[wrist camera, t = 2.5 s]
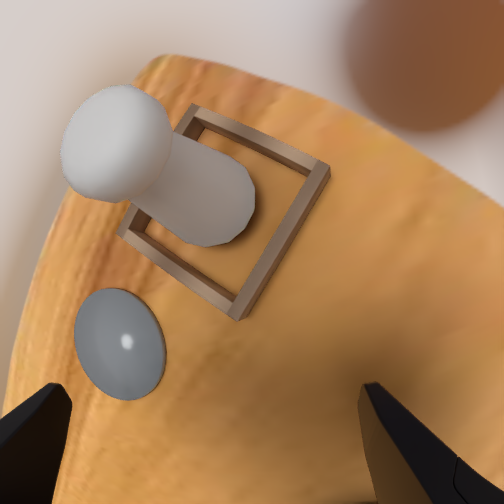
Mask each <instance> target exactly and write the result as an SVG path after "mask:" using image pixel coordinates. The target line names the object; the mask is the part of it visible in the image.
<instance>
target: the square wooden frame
mask: <svg viewBox="0 0 504 504" xmlns="http://www.w3.org/2000/svg"><path fill="white" fill-rule="evenodd" d="M204 128H208V129H210V130H212V131H214V132H217V133H219V134H221V135H223V136H225V137H228V138H230V139H232V140H234V141H236V142H238V143H241V144H243V145H245V146H247V147H249V148H251V149H253V150H255V151H257V152H259V153H261V154H263V155H266V156H268V157H270V158H272V159H274V160H276V161H278V162H280V163H282V164H284V165H285V166H287V167H289V168H291V169H293V170H295V171H297V172H299V173H301V174H303V175H305V176H307V177H308V178H307V179H306V181H305V183H304V184H303V186H302V188H301V189H300V191H299V193H298V195H297V196H296V198H295V200H294V201H293V203H292V205H291V206H290V208H289V210H288V211H287V213H286V215H285V216H284V218H283V220H282V222H281V223H280V225H279V227H278V228H277V230H276V232H275V233H274V235H273V237H272V238H271V240H270V242H269V243H268V245H267V247H266V248H265V250H264V252H263V254H262V255H261V257H260V259H259V260H258V262H257V264H256V265H255V267H254V269H253V270H252V272H251V274H250V275H249V277H248V279H247V280H246V282H245V284H244V285H243V287H242V289H241V290H240V292H239V294H238V295H237V297H236V296H235V295H233V294H232V293H230V292H229V291H227V290H226V289H224V288H223V287H221V286H220V285H218V284H217V283H215V282H214V281H212V280H211V279H209V278H208V277H206V276H205V275H203V274H202V273H201V272H199V271H198V270H196V269H195V268H193V267H192V266H190V265H189V264H187V263H186V262H185V261H183V260H182V259H180V258H179V257H177V256H176V255H175V254H173V253H172V252H170V251H169V250H167V249H166V248H165V247H163V246H162V245H160V244H159V243H158V242H156V241H155V240H153V239H152V238H151V237H149V236H148V235H146V234H145V233H144V230H145V228H146V226H147V224H148V223H149V221H150V219H151V217H150V216H149V215H148V214H146V213H145V212H144V211H142V210H141V209H140V208H138V207H137V206H136V205H134V204H133V203H131V204H130V206H129V208H128V210H127V212H126V214H125V216H124V218H123V220H122V222H121V224H120V226H119V228H118V230H117V232H116V234H117V235H118V236H120V237H121V238H122V239H124V240H125V241H126V242H127V243H129V244H130V245H131V246H133V247H134V248H135V249H137V250H138V251H139V252H140V253H142V254H143V255H144V256H146V257H147V258H148V259H150V260H151V261H152V262H154V263H155V264H156V265H158V266H159V267H160V268H162V269H163V270H164V271H166V272H167V273H169V274H170V275H171V276H173V277H174V278H175V279H177V280H178V281H180V282H181V283H182V284H184V285H185V286H186V287H188V288H189V289H191V290H192V291H193V292H195V293H196V294H198V295H199V296H201V297H202V298H203V299H205V300H206V301H208V302H209V303H210V304H212V305H213V306H215V307H216V308H218V309H219V310H221V311H222V312H224V313H225V314H226V315H228V316H229V317H231V318H232V319H234V320H235V321H237V322H238V321H240V320H242V319H244V318H246V317H247V315H248V314H249V312H250V310H251V309H252V307H253V306H254V304H255V302H256V301H257V299H258V297H259V296H260V294H261V293H262V291H263V289H264V288H265V286H266V284H267V283H268V281H269V279H270V278H271V276H272V274H273V273H274V271H275V269H276V268H277V266H278V265H279V263H280V261H281V260H282V258H283V256H284V255H285V253H286V251H287V249H288V248H289V246H290V244H291V243H292V241H293V239H294V238H295V236H296V234H297V233H298V231H299V229H300V228H301V226H302V224H303V222H304V221H305V219H306V217H307V216H308V214H309V212H310V211H311V209H312V207H313V205H314V204H315V202H316V200H317V198H318V197H319V195H320V193H321V192H322V190H323V188H324V186H325V185H326V183H327V181H328V179H329V178H330V176H331V175H330V165H328V164H326V163H324V162H322V161H320V160H318V159H316V158H314V157H312V156H310V155H308V154H306V153H304V152H302V151H300V150H298V149H296V148H294V147H292V146H290V145H288V144H286V143H284V142H282V141H279V140H277V139H275V138H273V137H271V136H269V135H267V134H264V133H262V132H260V131H258V130H255V129H253V128H251V127H249V126H246V125H244V124H242V123H240V122H237V121H235V120H232V119H230V118H228V117H225V116H223V115H220V114H218V113H216V112H213V111H211V110H208V109H206V108H203V107H200V106H198V105H195V104H193V103H192V104H191V105H190V107H189V108H188V110H187V111H186V113H185V114H184V116H183V117H182V119H181V120H180V122H179V123H178V125H177V126H176V128H175V129H174V132H176V133H178V134H180V135H183V136H185V137H187V138H190V139H192V140H194V141H197V139H198V137H199V136H200V134H201V133H202V131H203V130H204Z"/></svg>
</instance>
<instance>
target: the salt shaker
mask: <svg viewBox="0 0 504 504" xmlns="http://www.w3.org/2000/svg"><path fill="white" fill-rule="evenodd" d="M60 155H61V162H62V169H63V175H64V178H65V179H66V180H67V182H68V183H69V184H70V186H71V187H72V188H73V190H74V191H76V192H77V193H79V194H80V195H82V196H84V197H85V198H90V199H95V200H100V201H105V202H111V203H118V202H122V201H125V200H127V199H128V200H129V201H130V202H132V203H133V204H134V205H136V206H137V207H138V208H140V209H141V210H142V211H144V212H145V213H146V214H148V215H149V216H150V217H152V218H153V219H155V220H156V221H157V222H159V223H160V224H161V225H163V226H164V227H165V228H167V229H168V230H169V231H171V232H172V233H174V234H175V235H176V236H178V237H179V238H180V239H182V240H183V241H185V242H186V243H189V244H194V245H198V246H202V247H209V246H214V245H219V244H223V243H228V242H230V241H231V240H232V239H233V238H234V237H236V236H237V235H238V234H239V233H240V232H241V231H243V230H244V229H245V228H246V226H247V224H248V222H249V220H250V218H251V216H252V214H253V212H254V210H255V187H254V185H253V182H252V180H251V178H250V176H249V174H248V172H247V170H246V168H245V167H244V166H243V165H241V164H240V163H238V162H237V161H236V160H234V159H233V158H231V157H230V156H228V155H226V154H223V153H221V152H219V151H217V150H215V149H212V148H210V147H208V146H206V145H203V144H201V143H199V142H197V141H194V140H192V139H190V138H187V137H185V136H183V135H180V134H178V133H176V132H174V131H173V130H172V127H171V124H170V122H169V119H168V116H167V113H166V111H165V108H164V107H163V106H162V105H161V104H160V102H159V101H158V100H157V99H155V98H153V97H152V96H150V95H148V94H147V93H145V92H143V91H142V90H140V89H138V88H136V87H134V86H132V85H115V86H110V87H107V88H105V89H103V90H101V91H99V92H98V93H96V94H95V95H93V96H91V97H89V98H88V99H87V100H86V101H85V102H84V103H83V104H82V105H81V106H80V107H79V108H78V109H77V110H76V112H75V113H74V114H73V117H72V118H71V120H70V122H69V124H68V126H67V128H66V130H65V132H64V136H63V140H62V145H61V150H60Z"/></svg>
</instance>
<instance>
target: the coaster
mask: <svg viewBox="0 0 504 504" xmlns="http://www.w3.org/2000/svg"><path fill="white" fill-rule="evenodd" d="M74 339H75V347H76V351H77V355H78V358H79V361H80V363H81V365H82V367H83V369H84V371H85V373H86V374H87V376H88V377H89V378H90V380H91V381H92V382H93V383H94V384H95V385H96V386H97V387H98V388H99V389H100V390H101V391H103V392H104V393H106V394H107V395H109V396H111V397H113V398H116V399H120V400H135V399H139V398H141V397H143V396H145V395H147V394H148V393H150V392H151V391H152V390H153V389H154V388H155V387H156V386H157V385H158V383H159V382H160V380H161V378H162V375H163V372H164V369H165V363H166V348H165V341H164V337H163V333H162V330H161V328H160V325H159V323H158V321H157V319H156V317H155V316H154V314H153V313H152V311H151V310H150V308H149V307H148V306H147V305H146V304H145V303H144V302H143V301H142V300H141V299H140V298H139V297H137V296H136V295H134V294H133V293H131V292H128V291H126V290H123V289H117V288H109V289H101V290H98V291H96V292H94V293H93V294H91V295H90V296H89V297H88V298H86V300H85V301H84V302H83V304H82V305H81V307H80V309H79V311H78V314H77V317H76V321H75V328H74Z"/></svg>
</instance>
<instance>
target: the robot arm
mask: <svg viewBox="0 0 504 504" xmlns="http://www.w3.org/2000/svg"><path fill="white" fill-rule="evenodd" d="M71 411H72V401H71V399H70V397H69V396H68V394H67V392H66V391H65V389H64V387H63V386H62V385H61V384H59V383H52V382H51V383H48V384H47V385H46V386H44V387H43V388H42V389H40V390H39V391H38V392H36V393H35V394H33V395H32V396H31V397H29V398H28V399H27V400H25V401H24V402H23V403H21V404H20V405H19V406H17V407H16V408H15V409H13V410H12V411H11V412H9V413H8V414H7V415H5V416H4V417H3V418H2V419H0V504H52V500H53V495H54V490H55V486H56V481H57V477H58V473H59V469H60V464H61V461H62V457H63V453H64V449H65V445H66V439H67V433H68V427H69V422H70V416H71ZM358 413H359V419H360V425H361V431H362V438H363V445H364V451H365V456H366V460H367V464H368V467H369V471H370V475H371V478H372V482H373V486H374V490H375V494H376V497H377V501H378V504H504V491H502V490H501V489H499V488H498V487H496V486H495V485H493V484H492V483H490V482H489V481H488V480H486V479H485V478H484V477H482V476H481V475H480V474H478V473H477V472H476V471H475V470H474V469H472V468H471V467H470V466H469V465H468V464H467V463H465V462H464V461H463V460H462V459H461V458H460V457H457V454H455V453H454V452H453V451H452V450H451V449H450V448H449V447H448V446H447V445H446V444H444V443H443V442H442V441H441V440H440V439H439V438H438V437H437V436H436V435H435V434H434V433H432V432H431V431H430V430H429V429H428V428H427V427H426V426H425V425H424V424H423V423H422V422H420V421H419V420H418V419H417V418H416V417H415V416H414V415H413V414H412V413H411V412H410V411H409V410H407V409H406V408H405V407H404V406H403V405H402V404H401V403H400V402H399V401H398V400H397V399H396V398H394V397H393V396H392V395H391V394H390V393H389V392H388V391H387V390H386V389H385V388H384V387H383V386H381V385H380V384H379V383H378V382H369V383H364V384H363V385H362V387H361V391H360V395H359V399H358Z"/></svg>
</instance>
